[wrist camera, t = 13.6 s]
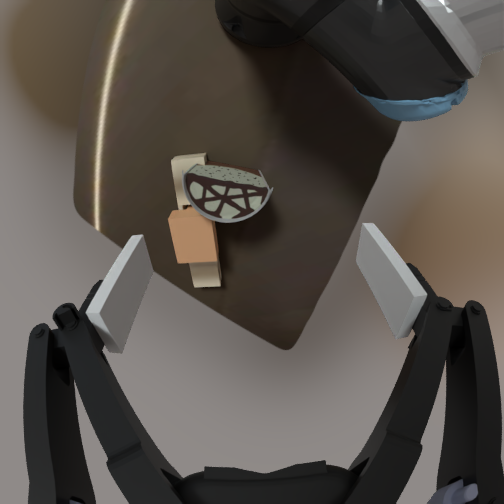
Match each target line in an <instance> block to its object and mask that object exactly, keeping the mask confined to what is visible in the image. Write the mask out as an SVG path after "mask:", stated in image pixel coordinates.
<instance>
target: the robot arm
mask: <svg viewBox="0 0 504 504" xmlns="http://www.w3.org/2000/svg"><path fill="white" fill-rule="evenodd" d="M215 9H216V13H217V16H218V19H219V21H220V23H221V24H222V26H223V27H224V28H225V30H226V31H227V32H228V33H230V34H231V35H232V36H233V37H235V38H236V39H238V40H240V41H242V42H244V43H247V44H250V45H254V46H258V47H270V48H271V47H282V46H286V45H290V44H293V43H295V42H297V41H299V40H301V39H304V40H305V41H306V42H307V43H309V44H310V45H311V46H312V47H313V48H314V49H316V50H317V51H318V52H319V53H320V54H321V55H322V56H324V57H325V58H326V59H327V60H328V61H329V62H330V63H331V64H332V65H333V66H334V67H336V68H337V69H338V70H339V71H340V72H341V73H342V74H343V75H344V76H345V77H346V78H347V79H348V80H349V81H350V82H351V83H352V84H353V87H354V89H355V90H356V91H357V92H358V93H359V94H360V95H361V96H363V97H365V98H366V99H367V100H368V101H369V102H370V103H371V104H372V105H373V106H374V107H375V108H376V109H377V110H378V111H379V112H380V113H381V114H383V115H385V116H387V117H389V118H391V119H394V120H399V121H420V120H425V119H430V118H433V117H436V116H439V115H442V114H444V113H446V112H448V111H450V110H451V105H458V104H460V103H461V102H462V101H463V99H464V98H465V96H466V94H467V91H468V81H467V79H470V78H473V77H475V76H478V74H479V69H480V64H481V60H482V59H483V57H484V56H486V55H489V54H492V53H495V52H498V51H502V50H504V0H215ZM356 263H357V265H358V266H359V268H360V270H361V272H362V273H363V275H364V277H365V279H366V281H367V283H368V285H369V287H370V289H371V290H372V292H373V294H374V296H375V298H376V300H377V302H378V304H379V306H380V308H381V310H382V312H383V314H384V316H385V318H386V320H387V322H388V325H389V327H390V329H391V331H392V333H393V335H394V337H395V339H399V338H404V337H408V335H409V334H410V332H411V330H412V329H413V330H414V332H415V335H414V338H413V339H412V341H411V343H410V345H409V347H408V348H409V351H408V354H407V357H406V359H405V362H404V365H403V367H402V370H401V372H400V375H399V377H398V380H397V382H396V384H395V387H394V389H393V391H392V393H391V396H390V398H389V400H388V402H387V404H386V406H385V408H384V411H383V412H382V415H381V417H380V418H379V421H378V422H377V424H376V426H375V428H374V430H373V432H372V434H371V435H370V437H369V439H368V441H367V443H366V444H365V446H364V448H363V449H362V451H361V452H360V454H359V455H358V456H357V458H356V459H355V460H354V461H353V463H352V464H351V466H350V467H349V469H348V470H347V469H345V468H342V467H338V466H333V465H326V461H325V460H323V461H318V462H310V463H303V464H296V465H293V466H290V467H287V468H284V469H280V470H278V471H274V472H270V473H265V474H264V473H257V472H253V471H247V470H243V469H238V468H229V467H205V470H204V471H202V472H198V473H194V474H191V475H189V476H187V477H185V478H182V477H181V475H180V474H179V473H178V472H177V471H176V470H175V469H174V468H173V467H172V466H171V465H170V464H169V462H168V461H167V460H166V459H165V457H164V456H163V455H162V453H161V452H160V450H159V449H158V448H157V446H156V445H155V443H154V442H153V440H152V439H151V437H150V436H149V434H148V433H147V432H146V430H145V428H144V427H143V425H142V424H141V422H140V420H139V419H138V417H137V415H136V414H135V412H134V410H133V408H132V407H131V405H130V403H129V402H128V400H127V398H126V396H125V395H124V393H123V391H122V389H121V387H120V385H119V383H118V382H117V379H116V377H115V375H114V373H113V371H112V369H111V367H110V365H109V363H108V361H107V359H106V356H105V354H104V353H103V351H102V349H103V347H104V345H105V346H106V348H107V349H108V351H109V352H113V353H122V352H123V349H124V346H125V344H126V340H127V338H128V335H129V332H130V330H131V326H132V324H133V322H134V319H135V316H136V314H137V311H138V309H139V306H140V303H141V301H142V298H143V296H144V293H145V291H146V289H147V286H148V284H149V281H150V279H151V276H152V274H153V272H154V271H153V268H152V265H151V261H150V258H149V254H148V251H147V247H146V244H145V240H144V236H143V235H133V236H131V238H130V239H129V241H128V242H127V244H126V245H125V247H124V249H123V250H122V252H121V253H120V255H119V256H118V258H117V259H116V261H115V263H114V264H113V266H112V267H111V269H110V271H109V272H108V274H107V276H106V277H105V279H104V280H99V281H98V282H97V283H96V284H95V285H94V286H93V288H92V289H91V291H90V294H88V296H87V298H86V299H85V301H84V303H83V304H82V306H81V308H80V310H79V311H78V310H77V309H76V307H75V305H74V304H72V303H65V304H63V305H61V306H59V307H58V308H57V309H56V310H55V311H54V313H53V320H54V321H55V323H56V325H57V326H58V329H54V330H51V329H50V328H49V326H48V325H47V324H45V323H42V324H39V325H37V326H36V327H34V328H33V330H32V331H31V333H30V336H29V343H28V350H27V358H26V367H25V379H24V402H23V403H24V404H23V410H24V411H23V413H24V414H23V419H24V441H25V453H26V462H27V469H28V475H29V482H30V484H29V496H28V504H96V500H95V495H94V491H93V487H92V483H91V479H90V476H89V472H88V468H87V464H86V460H85V455H84V450H83V445H82V440H81V434H80V428H79V422H78V415H77V407H76V398H75V387H74V380H75V383H76V386H77V388H78V391H79V394H80V397H81V399H82V402H83V405H84V407H85V410H86V412H87V414H88V417H89V419H90V421H91V424H92V426H93V428H94V430H95V433H96V435H97V437H98V439H99V441H100V443H101V445H102V447H103V449H104V451H105V453H106V455H107V457H108V461H107V462H106V463H107V467H108V469H109V471H110V473H111V475H112V477H113V478H114V480H115V482H116V484H117V485H118V487H119V488H120V490H121V492H122V493H123V495H124V496H125V498H126V499H127V501H128V502H129V504H396V502H397V500H398V499H399V497H400V495H401V493H402V492H403V490H404V488H405V486H406V484H407V482H408V480H409V478H410V476H411V474H412V472H413V470H414V468H415V466H416V464H417V461H418V459H419V457H420V455H421V452H422V445H421V444H420V442H421V438H422V436H423V433H424V430H425V428H426V425H427V423H428V419H429V417H430V414H431V411H432V408H433V405H434V402H435V399H436V395H437V392H438V388H439V385H440V381H441V377H442V373H443V369H444V365H445V361H446V411H445V425H444V435H443V443H442V450H441V457H440V463H439V469H438V476H437V491H436V492H435V493H434V494H433V496H432V497H431V499H430V500H429V501H428V502H427V504H504V474H503V467H502V463H501V442H502V441H501V440H502V413H501V396H500V385H499V376H498V369H497V362H496V356H495V351H494V345H493V340H492V335H491V331H490V326H489V323H488V319H487V315H486V311H485V309H484V307H483V306H482V305H481V304H480V303H479V302H476V301H473V300H471V301H468V302H467V303H466V305H465V307H464V308H460V307H453V305H452V303H451V302H450V301H449V300H447V299H445V298H443V297H438V296H437V295H436V294H435V292H434V291H433V289H432V288H431V286H430V285H429V284H428V283H427V281H425V278H424V277H423V276H422V274H421V273H420V272H419V270H418V269H417V268H416V267H414V266H413V265H412V264H411V263H405V262H404V261H403V260H402V258H401V257H400V256H399V254H398V253H397V252H396V251H395V249H394V248H393V247H392V245H391V244H390V243H389V242H388V240H387V239H386V238H385V237H384V235H383V234H382V233H381V232H380V231H379V229H378V228H377V227H376V226H375V225H374V223H362V228H361V234H360V240H359V246H358V252H357V257H356Z"/></svg>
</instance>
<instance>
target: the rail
mask: <svg viewBox="0 0 504 504" xmlns="http://www.w3.org/2000/svg"><path fill="white" fill-rule="evenodd" d="M206 162H207V153H199V154H190V155H181V156H175V157H174V158H173V159H172V160H171V164H172V171H173V178H174V184H175V190H176V196H177V202H178V208H179V210H185V209H187V205H190V203H189V201H188V200H187V198H186V196H185V193H184V190H183V187H182V170H183V173H185V172H187V171H188V170H189V169H190V168H191V167H192V166H194V165H195V164H196V163H198V164H200V165H205V164H206ZM189 265H190V270H191V274H192V279H193V283H194V287H216V286H221V277H222V276H221V269H220V262H219V255H218V260H217V261H212V262H193V263H189Z"/></svg>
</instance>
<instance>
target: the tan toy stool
mask: <svg viewBox="0 0 504 504" xmlns="http://www.w3.org/2000/svg"><path fill="white" fill-rule="evenodd" d="M168 221H169V225H170V230H171V235H172V239H173V244H174V248H175V252H176V257H177V261H178V263H193V262H212V261H217V260H218V253H219V249H218V242H217V234H216V227H215V221H214V220H211V219H209V218H206V217H205V216H203V215H201V214H200V213H199V212H197V211H196V210H195V209H194V208H193V207H192V205H191V204H190V205H188V207H187V209H185V210H174V211H172V213H171V215H170V216H169V218H168Z"/></svg>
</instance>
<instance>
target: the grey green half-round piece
mask: <svg viewBox="0 0 504 504" xmlns="http://www.w3.org/2000/svg"><path fill="white" fill-rule="evenodd" d="M182 187H183V190H184V193H185V196H186V198H187V200H188V201H189V203H190V204H191V205H192V207H193V208H194V209H195V210H196V211H197V212H199V213H200V214H201V215H203V216H205V217H206V218H209V219H211V220H214V221H218V222H225V223H230V222H238V221H242V220H245V219H247V218H249V217H251V216H253V215H254V214H256V213H257V212H258V211H260V210H261V209H262V208H263V207H264V205H265V204H266V203H267V201H268V199H269V198H270V195H271V193H272V190H273V187H272V189H271V190H270V188H269V186H268V184H267V183H266V181H265V179H264V177H263V175H262V173H261V171H260V170H254V169H250V168H245V167H240V166H234V165H229V164H224V163H219V162H213V161H207V162H206V164H205V165H200V164H198V163H196V164H195V165H194V166H192V167H191V168H190V169H189V170H188V171H187V172H185V173H183V170H182Z"/></svg>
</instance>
